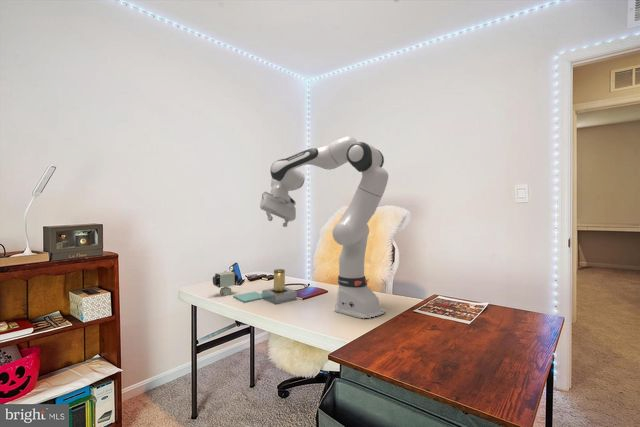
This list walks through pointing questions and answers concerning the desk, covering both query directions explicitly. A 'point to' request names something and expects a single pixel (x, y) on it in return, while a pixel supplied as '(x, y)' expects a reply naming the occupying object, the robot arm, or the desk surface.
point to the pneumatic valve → (225, 281)
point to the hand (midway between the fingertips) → (277, 223)
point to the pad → (248, 297)
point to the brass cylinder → (279, 280)
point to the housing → (279, 296)
